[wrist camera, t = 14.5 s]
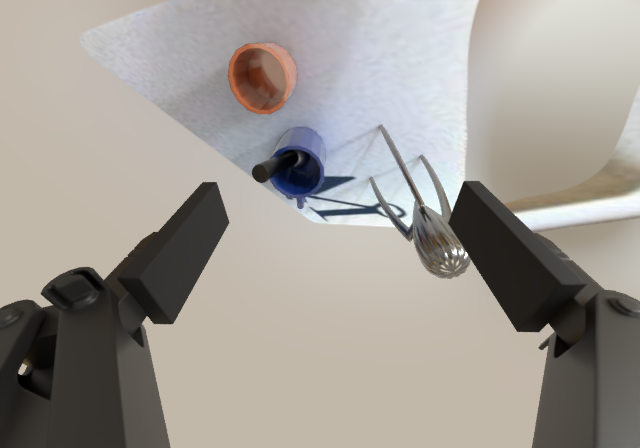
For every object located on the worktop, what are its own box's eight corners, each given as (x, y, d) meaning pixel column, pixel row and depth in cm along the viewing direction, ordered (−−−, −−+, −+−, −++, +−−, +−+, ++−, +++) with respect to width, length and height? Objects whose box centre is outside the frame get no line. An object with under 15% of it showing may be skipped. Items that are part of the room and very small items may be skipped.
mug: (275, 127, 45) (263, 146, 37) (324, 126, 44) (323, 145, 36) (283, 188, 52) (274, 214, 44) (325, 188, 52) (324, 214, 44)
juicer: (369, 179, 50) (403, 304, 27) (379, 124, 44) (438, 224, 20) (415, 182, 50) (491, 309, 27) (432, 127, 44) (556, 231, 20)
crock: (242, 43, 37) (221, 44, 30) (294, 42, 37) (286, 42, 30) (252, 102, 42) (236, 114, 35) (298, 101, 42) (292, 113, 35)
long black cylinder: (288, 139, 46) (240, 153, 31) (313, 140, 45) (276, 155, 30) (289, 165, 48) (245, 190, 33) (313, 166, 47) (279, 193, 32)
